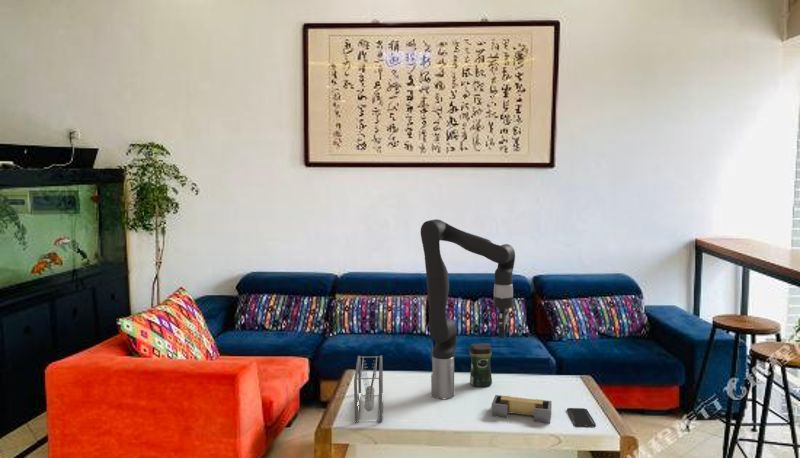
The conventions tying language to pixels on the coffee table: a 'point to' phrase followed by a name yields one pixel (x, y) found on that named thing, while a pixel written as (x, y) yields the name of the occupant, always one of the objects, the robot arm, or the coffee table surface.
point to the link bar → (521, 405)
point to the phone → (581, 417)
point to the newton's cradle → (369, 390)
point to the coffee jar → (480, 365)
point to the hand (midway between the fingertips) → (503, 335)
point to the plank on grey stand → (539, 414)
